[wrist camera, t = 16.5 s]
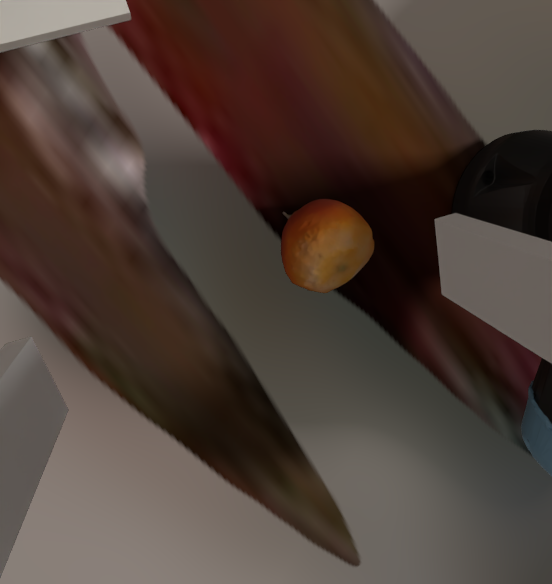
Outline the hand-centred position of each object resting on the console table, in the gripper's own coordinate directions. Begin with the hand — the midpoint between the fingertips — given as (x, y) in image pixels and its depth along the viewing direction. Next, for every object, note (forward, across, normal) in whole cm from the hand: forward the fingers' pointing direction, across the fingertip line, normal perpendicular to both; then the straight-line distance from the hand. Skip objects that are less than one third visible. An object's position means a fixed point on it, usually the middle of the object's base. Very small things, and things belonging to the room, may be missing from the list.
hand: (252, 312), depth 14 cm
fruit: (+26, +8, -6) cm, 28 cm away
